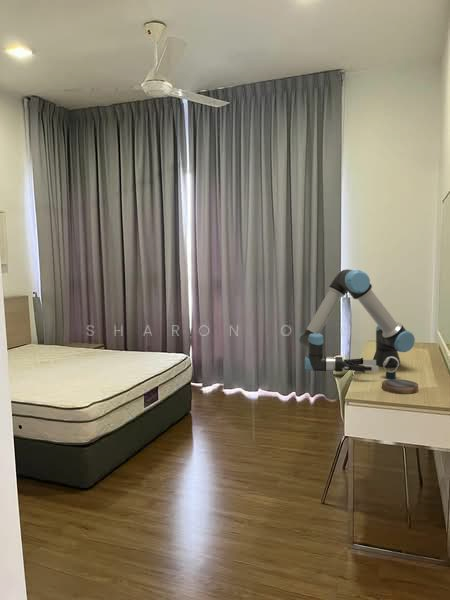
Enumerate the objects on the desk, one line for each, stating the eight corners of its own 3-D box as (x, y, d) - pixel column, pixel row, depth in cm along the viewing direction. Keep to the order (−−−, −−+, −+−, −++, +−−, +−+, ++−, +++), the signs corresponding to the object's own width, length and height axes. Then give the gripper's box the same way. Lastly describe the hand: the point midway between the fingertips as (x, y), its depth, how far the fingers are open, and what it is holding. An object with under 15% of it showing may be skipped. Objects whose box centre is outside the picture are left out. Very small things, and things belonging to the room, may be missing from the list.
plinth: (393, 382, 236) (393, 376, 235) (424, 389, 223) (424, 383, 223) (375, 388, 226) (375, 382, 225) (406, 396, 213) (406, 389, 213)
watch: (382, 376, 249) (383, 355, 248) (399, 377, 246) (399, 356, 245) (381, 378, 244) (382, 357, 243) (398, 380, 241) (398, 358, 240)
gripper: (334, 365, 262) (375, 367, 258) (334, 377, 238) (379, 378, 234) (334, 352, 262) (375, 353, 257) (334, 362, 238) (379, 363, 233)
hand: (377, 365), depth 245 cm, fingers open, 13 cm apart
